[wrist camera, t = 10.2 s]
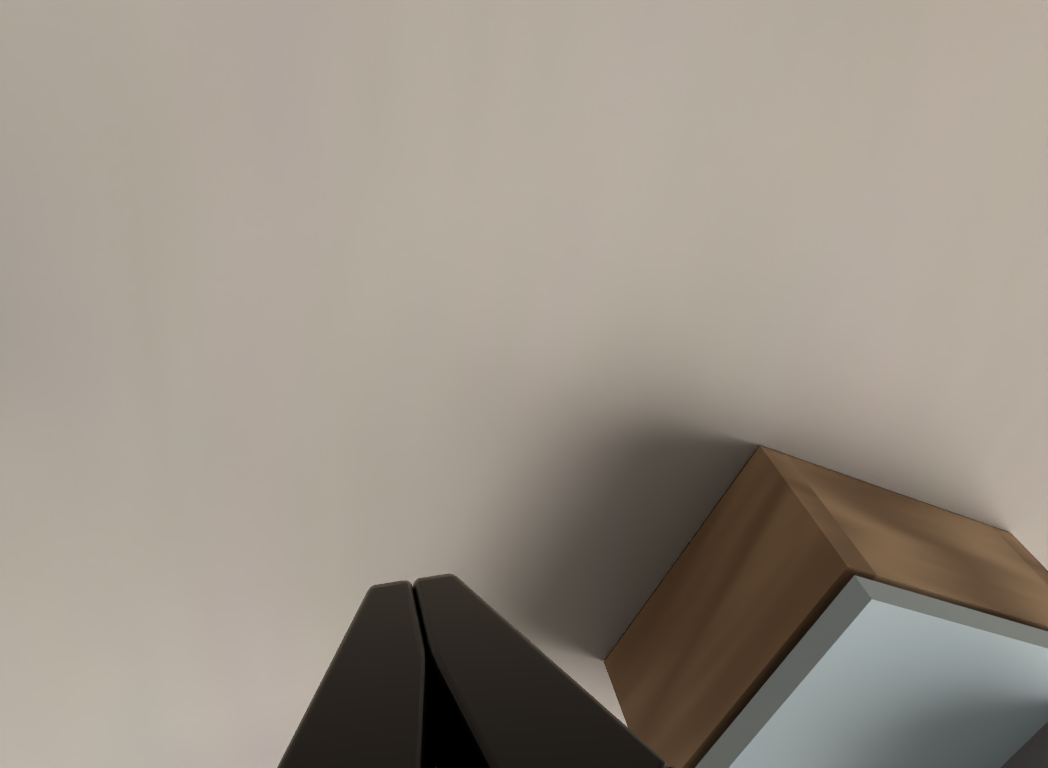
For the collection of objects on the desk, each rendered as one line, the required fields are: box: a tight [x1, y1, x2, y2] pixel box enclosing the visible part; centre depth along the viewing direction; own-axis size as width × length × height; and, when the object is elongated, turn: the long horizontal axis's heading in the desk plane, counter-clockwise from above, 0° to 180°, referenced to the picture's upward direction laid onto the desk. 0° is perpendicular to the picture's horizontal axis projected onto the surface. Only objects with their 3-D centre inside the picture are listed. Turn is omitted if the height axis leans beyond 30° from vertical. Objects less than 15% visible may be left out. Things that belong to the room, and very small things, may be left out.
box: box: [604, 446, 1048, 768], centre depth 29 cm, size 11×9×5 cm
